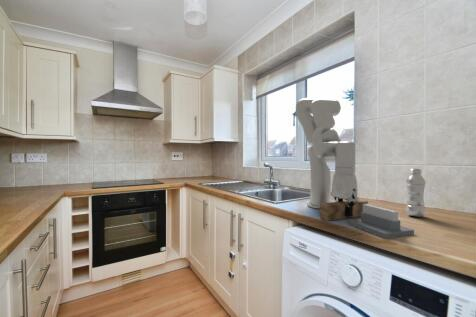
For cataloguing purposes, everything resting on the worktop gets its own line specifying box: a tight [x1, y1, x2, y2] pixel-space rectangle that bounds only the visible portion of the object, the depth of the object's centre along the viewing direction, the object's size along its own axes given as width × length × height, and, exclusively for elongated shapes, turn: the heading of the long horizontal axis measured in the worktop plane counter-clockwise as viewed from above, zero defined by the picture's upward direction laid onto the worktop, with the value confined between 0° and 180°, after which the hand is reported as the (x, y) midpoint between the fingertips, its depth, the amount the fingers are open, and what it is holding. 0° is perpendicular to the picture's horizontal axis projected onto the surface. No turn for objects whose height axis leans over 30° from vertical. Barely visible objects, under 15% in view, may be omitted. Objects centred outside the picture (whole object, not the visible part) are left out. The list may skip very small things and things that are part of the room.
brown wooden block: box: [319, 198, 369, 222], centre depth 94 cm, size 22×4×6 cm, turn 111°
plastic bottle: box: [405, 168, 426, 218], centre depth 95 cm, size 6×7×20 cm
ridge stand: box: [348, 203, 415, 239], centre depth 79 cm, size 15×12×8 cm
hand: (344, 214), depth 94 cm, fingers closed on brown wooden block, 4 cm apart
